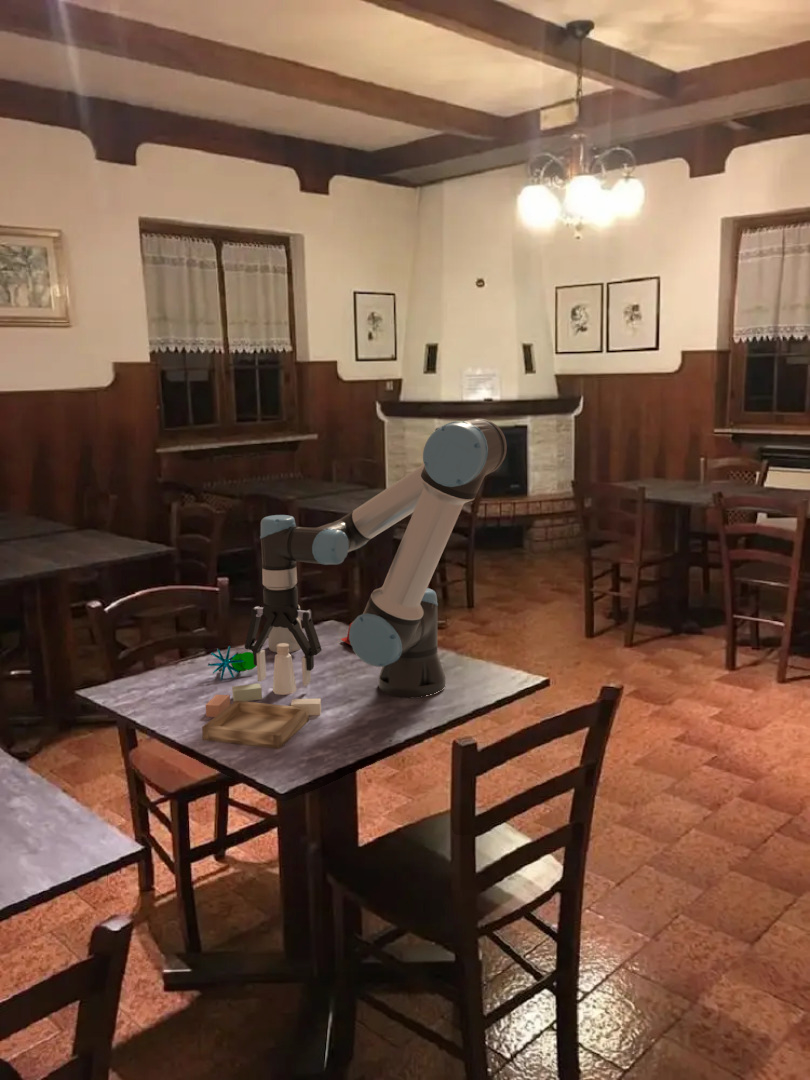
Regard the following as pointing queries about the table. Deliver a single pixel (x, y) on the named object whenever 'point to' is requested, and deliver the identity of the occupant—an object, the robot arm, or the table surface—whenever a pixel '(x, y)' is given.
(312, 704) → the cream brick
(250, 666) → the stick construction toy
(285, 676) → the pepper shaker
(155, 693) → the table surface
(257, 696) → the sage brick
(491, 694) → the table surface
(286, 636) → the mug
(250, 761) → the table surface
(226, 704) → the terracotta brick
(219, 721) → the oak tray
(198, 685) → the table surface
